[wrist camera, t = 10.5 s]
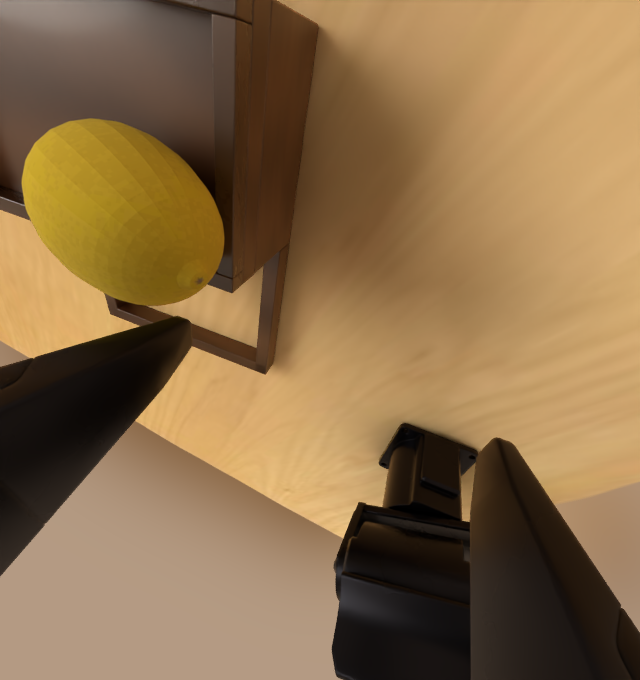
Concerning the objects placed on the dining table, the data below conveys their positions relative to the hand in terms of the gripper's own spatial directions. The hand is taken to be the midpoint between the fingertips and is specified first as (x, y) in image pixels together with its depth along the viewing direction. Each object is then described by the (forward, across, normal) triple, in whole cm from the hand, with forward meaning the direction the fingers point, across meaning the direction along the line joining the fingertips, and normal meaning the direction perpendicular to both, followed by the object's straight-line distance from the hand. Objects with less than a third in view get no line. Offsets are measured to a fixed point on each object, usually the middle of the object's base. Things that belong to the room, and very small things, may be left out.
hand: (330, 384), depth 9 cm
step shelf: (+12, +13, +2) cm, 18 cm away
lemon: (+4, +13, -2) cm, 14 cm away
